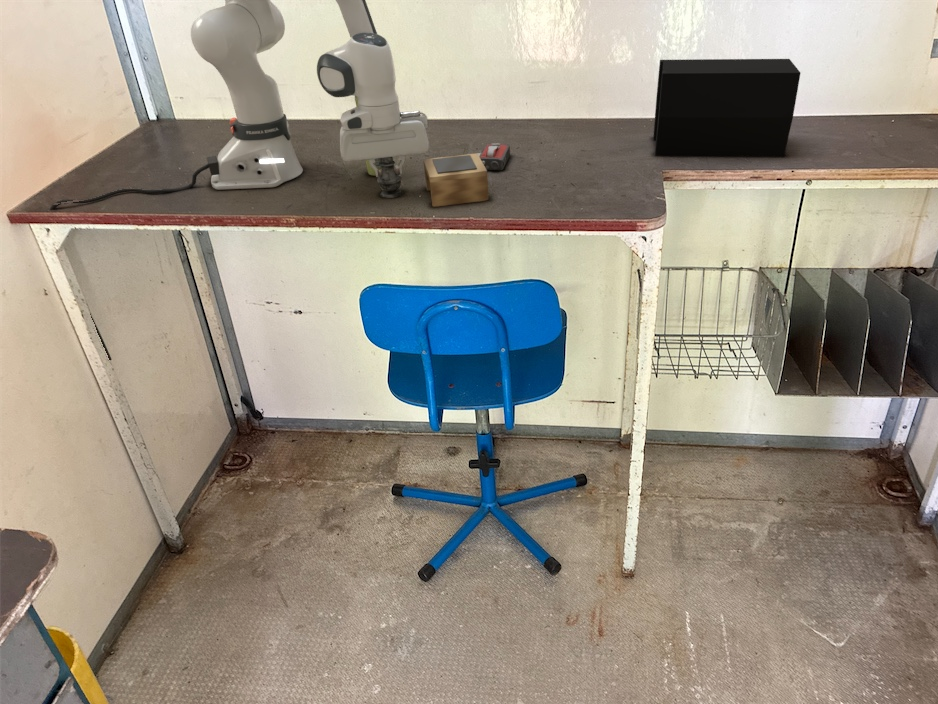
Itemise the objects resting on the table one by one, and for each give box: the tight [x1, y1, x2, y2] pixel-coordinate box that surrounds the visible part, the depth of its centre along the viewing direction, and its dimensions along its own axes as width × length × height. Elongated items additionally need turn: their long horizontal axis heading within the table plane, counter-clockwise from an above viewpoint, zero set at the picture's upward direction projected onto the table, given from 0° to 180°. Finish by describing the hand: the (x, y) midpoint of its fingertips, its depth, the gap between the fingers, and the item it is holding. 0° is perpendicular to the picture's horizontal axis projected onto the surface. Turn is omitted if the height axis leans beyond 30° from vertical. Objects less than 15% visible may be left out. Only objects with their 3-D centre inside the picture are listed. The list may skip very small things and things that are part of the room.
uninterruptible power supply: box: [652, 58, 801, 158], centre depth 181 cm, size 16×34×20 cm, turn 83°
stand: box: [422, 152, 489, 208], centre depth 165 cm, size 13×12×7 cm
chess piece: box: [376, 157, 404, 199], centre depth 165 cm, size 6×6×12 cm
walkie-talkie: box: [477, 142, 511, 171], centre depth 179 cm, size 9×4×20 cm
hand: (388, 175), depth 166 cm, fingers closed on chess piece, 3 cm apart
